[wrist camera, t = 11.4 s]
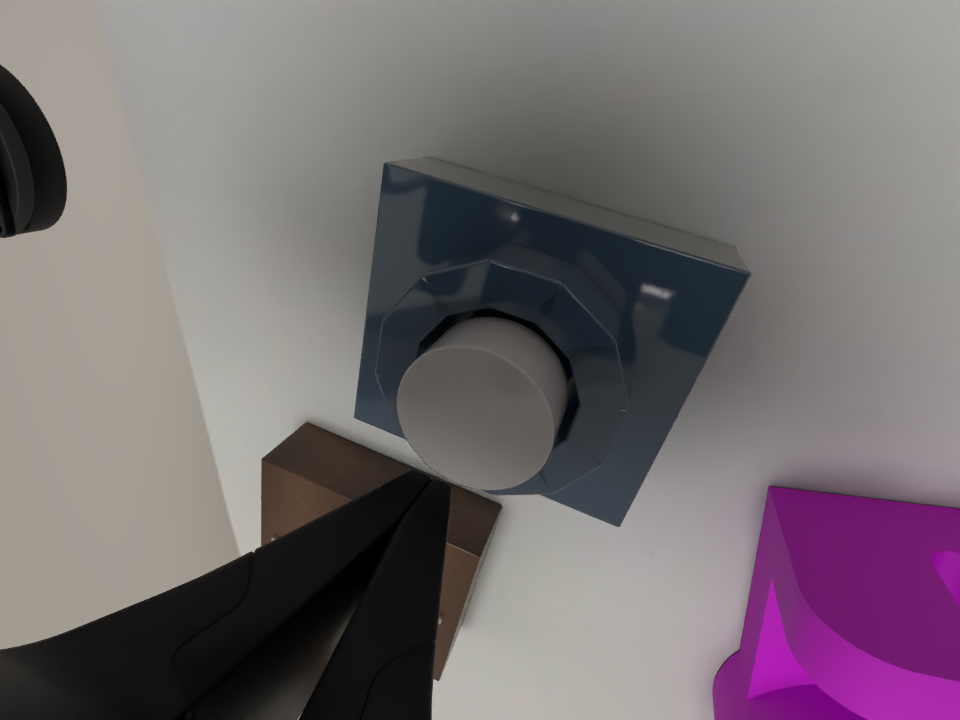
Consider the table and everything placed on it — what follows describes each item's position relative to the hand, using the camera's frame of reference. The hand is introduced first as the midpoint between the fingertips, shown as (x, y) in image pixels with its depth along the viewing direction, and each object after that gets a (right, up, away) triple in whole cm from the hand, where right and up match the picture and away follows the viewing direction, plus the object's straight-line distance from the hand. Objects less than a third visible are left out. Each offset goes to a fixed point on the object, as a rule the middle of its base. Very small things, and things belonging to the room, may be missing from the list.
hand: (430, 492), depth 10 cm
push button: (+1, +2, +4) cm, 5 cm away
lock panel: (-4, -6, +15) cm, 16 cm away
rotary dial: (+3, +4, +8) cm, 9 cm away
